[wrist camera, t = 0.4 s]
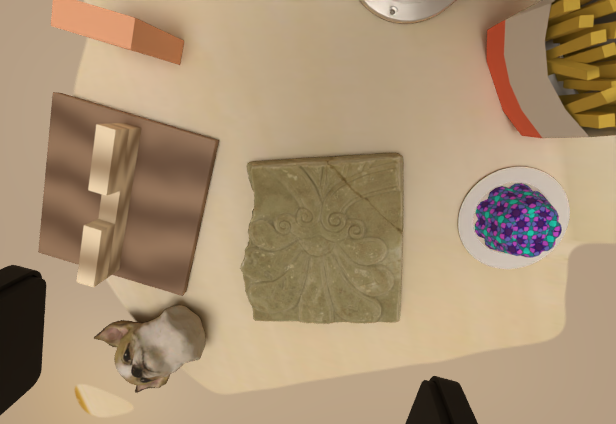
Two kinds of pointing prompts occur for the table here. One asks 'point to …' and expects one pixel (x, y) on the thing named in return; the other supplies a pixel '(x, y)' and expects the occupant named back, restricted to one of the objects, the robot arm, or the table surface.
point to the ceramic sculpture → (155, 346)
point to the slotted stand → (123, 194)
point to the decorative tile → (326, 239)
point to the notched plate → (115, 29)
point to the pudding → (514, 218)
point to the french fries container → (557, 68)
